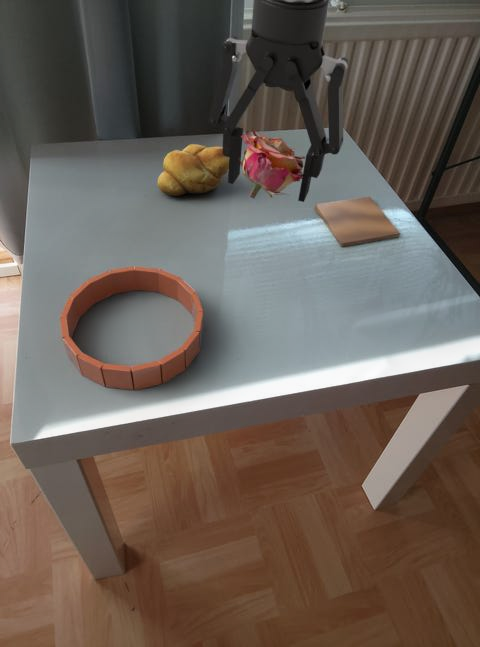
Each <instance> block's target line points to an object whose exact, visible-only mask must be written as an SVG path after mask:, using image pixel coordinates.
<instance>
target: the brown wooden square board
mask: <svg viewBox="0 0 480 647" xmlns="http://www.w3.org/2000/svg"><path fill="white" fill-rule="evenodd" d="M314 209H315V211H316V213H318V215H319V216H320V218H321V219H322V221H323V222H324V224H325V225H326V227H327V228H328V229H329V231H330V233H331V234H332V235H333V237H334V238H335V240H336V242H337V243H338V244H339V246H340V247H341V248H345V247H349V246H356V245H361V244H366V243H371V242H378V241H385V240H389V239H395V238H400V235H401V232H400V231H399V229H397V227H396V226H395V225H394V224H393V223H392V222H391V220H390V219H389V217H387V216H386V214H385V213H384V212H383V211H382V210H381V208H380V207H379V205H378V204H377V203H376V202H375V200H373V198H372V197H371V196H363V197H356V198H349V199H342V200H336V201H329V202H323V203H315V205H314Z"/></svg>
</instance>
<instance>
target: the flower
mask: <svg viewBox="0 0 480 647" xmlns="http://www.w3.org/2000/svg"><path fill="white" fill-rule="evenodd" d="M241 137H242V140H243V142H244V143H245V145H247V148H244V150H243V155H244V156H243V155H241V158H242V159H241V161H240V163H241V164H240V168H241V171H242V175H243V176H244V177H245V178H246V180H247V181H249V182H250V183H252V184H253V187H252V188H251V191H250V194H249V197H250V198H252V199H253V200H255V199H256V196H257V195H258V193H259V191H260V190H261V189H262V191H263V192H264V193H266V194H267V195H269V196H270V198H271V199H273V196H274V195H275V196H279V195H287V196H290V194H288V193H285V192H282V191H283V190H285V189H286V188H287V187H288V186H289V185H291V184H292V183H294V182H295V183H296V182H300V181H301V180H302V177H303V171H302V170H303V169H304V162H303V159H306V156H305V155H295V154H296V151H295V149H294V148H292V147H290V146H288V144H287V143H286V141H285V140H284V139H283V138H282V137H269V138H268V137H267V136H266V135H264V134H262V135H259V133H258V131H256V130H254V131H251V130H248V129H247V130H246V131H245V133H243V136H241ZM238 158H239V157H238ZM239 160H240V159H239ZM290 197H291V196H290Z"/></svg>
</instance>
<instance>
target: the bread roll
mask: <svg viewBox="0 0 480 647" xmlns="http://www.w3.org/2000/svg"><path fill="white" fill-rule="evenodd" d="M222 149H223V146H210V147H207V146H205V145H201V144H194V143H190V144H188V145H187V146H186V147H185V148H183V149H182V150H178V149H175V150H172V151H170V152H169V153H167V154H166V156H165V157H164V159H163V162H162V167H163V171H162V172H161V173H160V175H159V176H158V178H157V187H158V189H159V190H160V191H161V193H163V194H165V195H168V196H172V197H178V196H183V195H186V194H188V193H189V194H205V193H209V192H211V191H213V190H216V189H217V188H218V187H219V185H220V184H221V182H222V181H223V177H224V176H225V175H226V174H227V173H228V171H229V157H226V156H224V155H223V152H222Z"/></svg>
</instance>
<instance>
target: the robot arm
mask: <svg viewBox="0 0 480 647" xmlns="http://www.w3.org/2000/svg"><path fill="white" fill-rule="evenodd" d="M329 5H330V0H253V4H252V19H251V33H250V36H249V38H248V39H239V38H238V37H237V35H231V36H229V37H228V38H227V39H226V41H224V42H223V43H222V44H221V48H220V50H221V64H222V65H221V69H220V73H219V77H218V81H217V85H216V89H215V92H214V96H213V100H212V105H211V109H210V112H209V117H208V122H207V123H208V124H209V125H210V126H211V127H213V128H214V127H217V128H218V129H220V130H221V132H222V147H223V149H222V152H223V155H224V156H226V157H229V169H228V172H227V173H228V174H227V184H230V185H234V184H235V182H236V181H237V179H238V177H239V176H240V174H241V163H242V162H241V163H240V161H242V149H243V138H242V137H241V136H243V134H244V128H243V127H239V126H238V124H239V123H240V120H242V118H243V117H244V115H245V113H246V112H247V110H248V108H249V107H250V106H251V103H252V102H253V100H254V99H255V97H256V95H257V94H258V92H259V90H260V89H261V88H262V86H263V84H264V86H265V87H267V88H280V89H281V90H283V91H286V92H293V95H294V98H295V101H296V103H297V104H298V106H299V109H300V112H301V116H302V119H303V123H304V126H305V128H306V129H305V130H306V132H307V136H308V139H309V142H310V147H309V149H308V151H307V152H306V155H305V161H304V164H303V171H302V174H303V176H302V179H301V182H300V188H299V193H298V200H297V201H298V202H302V203H304V202H305V200H306V198H307V196H308V194H309V191H310V186H311V181H312V178H314V179H317V178H319V176H320V174H321V172H322V170H323V165H324V159H325V155H327V154H331V155H335V156H336V155H337V154H339V153H340V152H341V151H340V150H341V148H342V145H343V143H344V79H345V76H346V73H347V70H348V67H349V64H350V62H349V60H348V58H346V57H345V56H343V57H342V56H341V57H340V58H339V59H337V58H334V57H331V56H328V55H326V54H325V50H324V46H323V45H324V44H323V41H324V34H325V29H326V23H327V18H328V11H329ZM245 54H246V55H247V57H248V59H249V61H250V63H251V64H252V67H253V68H254V71H255V73H254V74H253V76H252V78H251V79H250V81H249V82H248V84H247V86H246V87H245V89H244V91H243V92H242V95H241V96H240V98H239V100H238V101H237V102H236V104H235V106H234V108H233V109H232V111H231V113H230V114H229V115H227V114H226V111H227V107H228V103H229V100H230V97H231V93H232V89H233V86H234V82H235V78H236V75H237V72H238V69H239V68H238V67H239V63H240V62H241V61H242V60H243V59H244V56H245ZM319 69H322V70H323V73H324V74H323V76H324V80H325V81H326V82H328V86H327V115H328V116H327V117H328V121H327V122H328V138H327V135H326V134H327V133H326V131H325V127H324V123H323V120H322V116H321V113H320V109H319V106H318V103H317V102H318V101H317V98H316V95H315V91H314V82H313V78H312V76H313V75H314V74H316V72H318V70H319ZM238 157H239V158H238ZM239 159H240V160H239Z"/></svg>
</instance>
